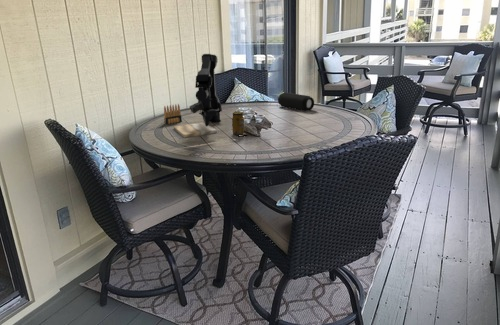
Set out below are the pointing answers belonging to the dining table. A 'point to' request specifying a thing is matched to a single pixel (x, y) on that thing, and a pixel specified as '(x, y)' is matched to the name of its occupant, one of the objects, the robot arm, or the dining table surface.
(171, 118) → the ammunition clip
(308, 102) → the portable speaker
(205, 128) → the loose plank
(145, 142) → the dining table surface
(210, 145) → the dining table surface
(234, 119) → the condiment
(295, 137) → the dining table surface
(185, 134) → the plank
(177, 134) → the underlay mat
